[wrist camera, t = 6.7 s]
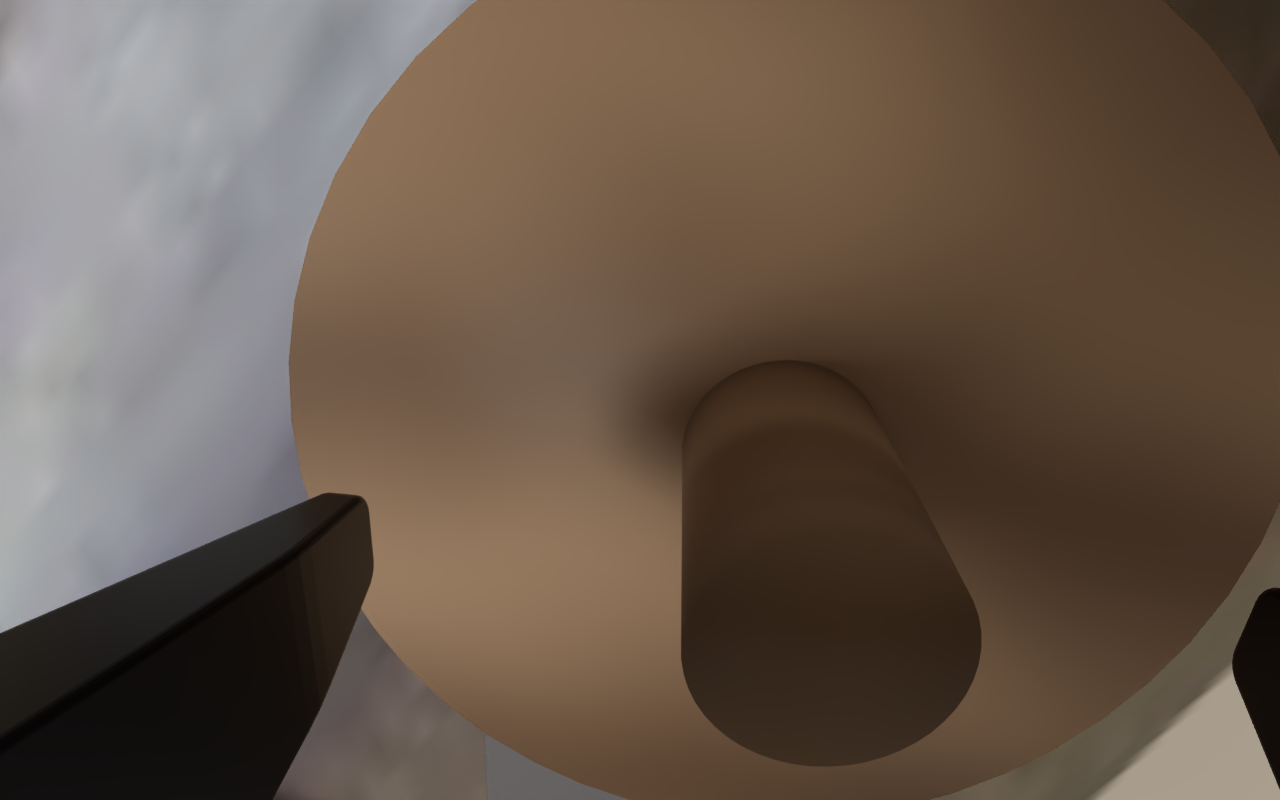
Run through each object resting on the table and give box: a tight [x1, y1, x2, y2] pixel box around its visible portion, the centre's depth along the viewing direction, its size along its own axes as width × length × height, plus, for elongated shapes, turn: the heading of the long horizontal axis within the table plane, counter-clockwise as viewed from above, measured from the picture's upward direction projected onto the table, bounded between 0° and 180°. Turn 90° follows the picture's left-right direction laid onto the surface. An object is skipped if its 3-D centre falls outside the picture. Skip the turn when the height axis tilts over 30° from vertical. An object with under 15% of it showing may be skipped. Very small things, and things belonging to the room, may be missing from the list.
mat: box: [485, 733, 628, 800], centre depth 26 cm, size 12×12×1 cm
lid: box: [289, 0, 1280, 800], centre depth 10 cm, size 13×13×5 cm
